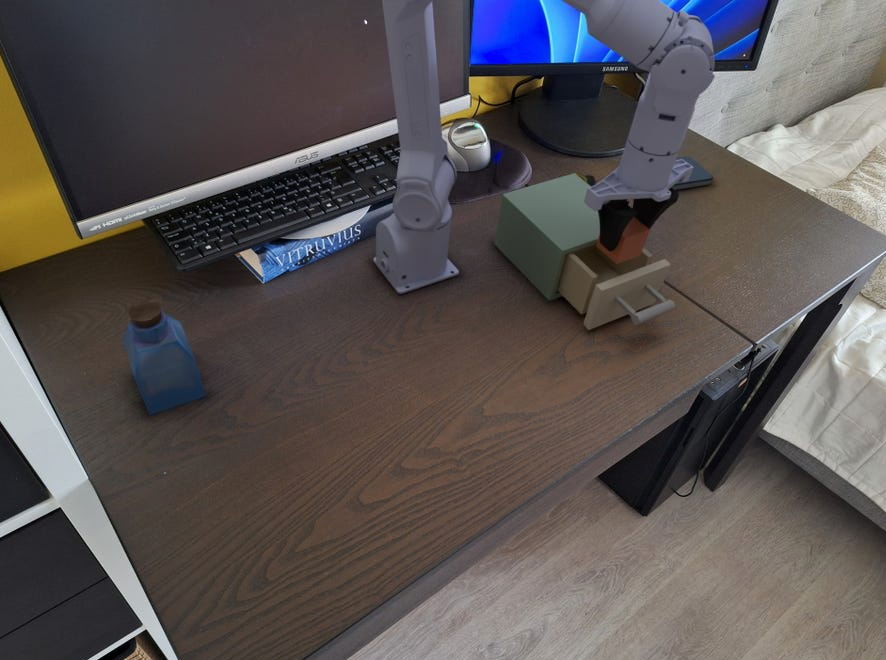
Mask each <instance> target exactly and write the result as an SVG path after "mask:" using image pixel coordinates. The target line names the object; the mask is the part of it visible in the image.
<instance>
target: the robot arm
mask: <svg viewBox="0 0 886 660" xmlns="http://www.w3.org/2000/svg"><path fill="white" fill-rule="evenodd" d="M433 1H434V0H381V3H382V10H383V16H384V17H383V20H384V27H385V36H386V43H387V44H386V45H387V51H388V59H389V68H390V77H391V83H392V92H393V99H394V100H393V101H394V109H395V116H396V124H397V132H398V141H399V147H400V148H399V149H400V152H399V158H398V159H399V160H398V164H397V173H396V187H397V188H396V192H395V194H394V197H393V200H392V211H393V213H392V214H391V215H389V216H388V217H386V218H384V219H382V220H381V221H378V222H377V224H376V226H375V256H374V257H373V260H372V261H373V263H374V264H375V265H376V267H377V268H378V269H379V270H380V272H381V274H382V275H383V276H384V277H385V278H386V280H387V281H388V282H389V284H390V285H391V286H392V287H393V289H394V290H395V291H396V293H397V294H400V295H402V294H405V293H408V292H412V291H414V290H419V289H420V288H423V287H426V286H429V285H432V284H435V283H438V282H441V281H444V280H447V279H450V278H454V277H456V276H459V274H460V272H459V269H458V268H457V267H456V266H455V265H454V264H453V262H451V260H450V259H449V258H448V255H449V245H450V237H451V235H450V234H451V227H452V217H453V216H452V215H453V210H452V205H450V204H451V203H450V201H449V196H450V194H451V191H452V188H453V186H454V185H455V184H456V181H457V176H458V173H457V167H456V164H455V163H454V161H453V160H452V158H451V155H450V154H449V148H448V147H449V146H448V142H447V141H446V139H444V138H443V130H442V129H443V128H442V116H441V115H442V114H441V103H440V88H439V75H438V62H437V61H438V60H437V48H436V34H435V20H434V6H433ZM561 2H563V3H565V4H567V5H568V6H570V7H572V8H573V9H575V10H576V11H578V12H579V13H581V14H583V16H584V17H585V22H586V23H585V24H586V30H587V35H589V36H591V37H592V38H594V39H595V40H596V41H598V42H599V43H601V44H602V45H604V46H605V47H607V48H608V49H609V50H611V51H613V53H615V54H617V55H618V56H620V57H621V58H623V59H624V60H625V61H627V62H629V63H630V64H632V65H633V66H634V67H636V68H637V69H639V70H642V71H646V72H648V76H647V79H646V83H645V86H644V90H643V92H642V93H641V95H640V96H639V98H638V103H637V106H636V110H635V112H634V116H633V119H632V123H631V125H630V129H629V132H628V134H627V139H626V141H625V145H624V149H623V152H622V155H621V158H620V162H619V165H618V166H617V168H615V169H614V170H613V171H611V172H610V173H609V174H608V175H607V176H605V177H604V178H602V179H601V180H600V181H599V182H598V183H597V182H596V183H595V185H594V186H591V187H589V188H587V192H586V196H585V199H584V203H586V204H587V205H588V206H589V207H590V208H591V209H593V210H594V211H597V210H598V214H599V222H600V244H601V245H603V246H604V247H605V248H606V249H607V250H608V251H613V250H614V249H615V248H616V246H617V245H618V243H619V241H620V239H621V236H622V234H623V232H624V230H625V228H626V226H627V225H628V224H629V222H630V221H631V220H632V219H633V218H634V217H635V218H636V219H638V220H639V221H640V222H641V223H643V224H644V225H645V226H646V227H647V228H649V229H650V230H651V229H652V227H653V226H654V224H655V223H656V222H657V221H658V220H659V218H660V217H661V216H662V215H663V214H664V213H665V212H666V211H667V210H668V209H669V208H670V207H671V206H673V205H674V204H676V203H677V202H678V200H679V197H680V193H679V192H678V191H677V190H674V189H673V188H671V187H672V186H673V185H674V184H675V183H676V182H677V181H680V182H682V183H684V182H687V181H688V180H689V178H690V175H691V173H692V170H693V168H694V167H693V166H691V165H690V164H689V163H687V162H686V161H684V160H683V159H680V160H676V159H677V158H678V155H679V153H680V150H681V149H682V145H683V142H684V140H685V138H686V135H687V131H688V130H689V126H690V124H691V121H692V118H693V115H694V112H695V110H696V103H697V101H698V99H699V97H700V95H702V93H704V92H705V91H706V90H707V89H708V88H709V87H710V86H711V84H712V83H713V81H714V79H715V74H714V71H715V67H716V66H715V65H716V59H715V53H714V52H715V51H714V45H713V40H712V39H713V38H712V35H711V32H710V31H709V29H708V27H707V26H706V25H705V24H704V23H703V22H702V20H701V18H700V17H699V16H696V15H692V14H689V13H687V11H684V10H683V9H680V10H679V11H678V12H677V11H675V10H673V9H672V8H671V7H669V6H668V5H667V4H665V3H664V2H662V1H661V0H561ZM628 200H633V203H632V207H631V206H630V205H629V204H630V201H628Z"/></svg>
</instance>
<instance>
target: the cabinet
mask: <svg viewBox="0 0 886 660" xmlns="http://www.w3.org/2000/svg"><path fill="white" fill-rule="evenodd" d="M572 173H573V174H570V175H567V176H563V177H560V178H558V177H557V178H553V179H549V180H546V181H543V182H539V183H536V184H533V185H529V186H526V187H522V188H519V189H515V190H512V191H508V192H504V193H502V195H501V201H500V207H499V212H498V219H497V225H496V226H497V227H496V232H495V237H494V246H496V247H497V249H498V250H499V251H500V252H501V253H502V254H503V255H504V256H505V257H506V258H507V259H508V260H509V261H510V262H511V263H512V264H513V266H515V267H516V269H518V270H519V271H520V272H521V274H522V275H523V276H524V277H525V278H526V279H527V280H528V281H529V282H530V283H531V284H532V285H533V286H534V287H535V288H536V289H537V290H538V291H539V292H540V293H541V294H542V295H543V296H544V298H546V299H547V301H548V302H551V301H553V300H556V299H559V298H562V297H564V296H563V295H562V294H561V293H560V292H559V291H558V290H557V286H558V282H559V278H560V275H561V271H562V267H563V263H564V260H565V256H566V254H568V253H570V252H573V251H576V250H579V249H582V248H585V247H588V246H591V245H593V244H596V243H597V241H598V238H599V234H600V222H599V214H598V210H597V211H594V210H593V209H591V208H590V207H589V206H588V205H587V204H586V203H584V199H585V196H586V192H587V188H589V187H591V186H590V185H588V184H587V183H586V182H585V181H584V180H582V179H581V178H580V177H579V176H578V175H576V174H575V173H576V172H572Z"/></svg>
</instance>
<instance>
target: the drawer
mask: <svg viewBox="0 0 886 660" xmlns="http://www.w3.org/2000/svg"><path fill="white" fill-rule="evenodd" d="M596 244H597V243H596ZM596 244H593V245H591V246H588V247H585V248H582V249H579V250H576V251H573V252H570V253H568V254H566V256H565V260H564V263H563V267H562V271H561V275H560V278H559V282H558V286H557V290H558V291H559V292H560V293H561V294H562V295H563V296H562V297H563V298H564V299H565V300H566V301H568V303H569V304H571V306H572V307H573V308H575V310H576V311H577V312H578V313H579V314H580V315H584V314H585V318H584V321H583V323H582V324H583V326H584V327H585V328H586V329H587V330H588V331H590V330H592V329H596V328H597V327H600V326H602V325H605V324H607V323H609V322H612V321H614V320H617V319H620V318H622V317H625V316H627V315H629V316H630V318H631V319H630V320H631V323H632V324H633V325H635V326H638V325H641V324H644V323H646V322H648V321H650V320H653V319H656V318H658V317H660V316H662V315H665V314H668V313H669V312H672V311H674V310H675V309H676V302H675V301H674V300H672V299H666V298H665V297H664V296H663V295H662V294H661V293H660V292H661V290H662V288H663V285H664V282H665V280H666V278H667V275H668V274H669V270H670V268H671V266H672V263H670V262H669V261H668V260H667V259H665V258H664V259H661V260H658V261H656V262H653V263H651V262H652V259H653V257H654V255H653V254H652V253H651V252H649V250H647V249H646V248H645V247H643V250H642V253H641V255H640V256H637V257H635V258H632V259H629V260H626V261H624V262H621V263H618V264H616V263H614V262H613V261H612V260H611V259H610V258H609V257H608V256H607V255H606V254H604V253H603V252H602V251H601V250H600V249H599V248H598V247H597V246H596ZM656 302H658V303H657V304H655V303H656ZM654 304H655V305H654ZM651 305H652V306H651ZM649 306H650V307H649ZM646 307H648V308H646ZM644 308H645V309H644ZM639 310H640V311H639Z"/></svg>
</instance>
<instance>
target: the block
mask: <svg viewBox="0 0 886 660" xmlns="http://www.w3.org/2000/svg"><path fill="white" fill-rule="evenodd" d="M650 231H651V228H650V229H649V228H647V227H646V226H645V225H644V224H643V223H641V222H640V221H639V220H638V219H636V218H635V217H634V218H633V219H632V220H631V221H630V222H629V224H628V225H627V226H626V228H625V230H624V232H623V234H622V236H621V239H620V241H619V243H618V245H617V246H616V248H615V249H614V250H613V251H608V250H607V249H606V248H605V247H604V246H603V245H601V244H600V234H599V238H598V241H597V244H596V246H597V247H598V248H599V249H600V250H601V251H602V252H603V253H604V254H606V255H607V256H608V257H609V258H610V259H611V260H612V261H613V262H614V263H616V264H618V263H621V262H624V261H626V260H629V259H632V258H635V257H637V256H640V255H641V253H642V250H643V248H645V245H646V242H647V239H648V236H649V234H650Z"/></svg>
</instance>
